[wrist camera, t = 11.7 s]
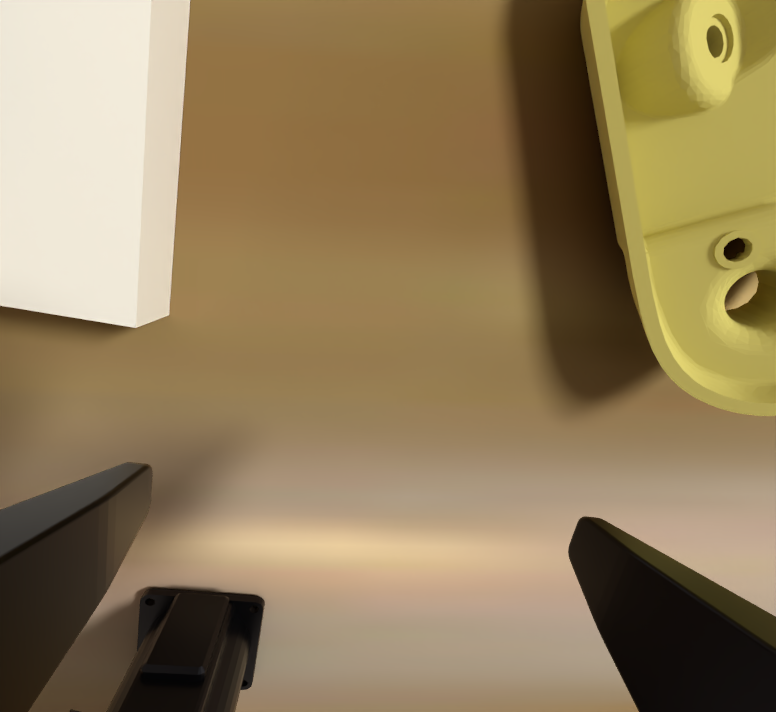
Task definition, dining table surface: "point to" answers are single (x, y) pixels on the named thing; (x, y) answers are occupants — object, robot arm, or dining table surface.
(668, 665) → the robot arm
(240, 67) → the dining table surface
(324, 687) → the dining table surface
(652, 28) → the plastic component
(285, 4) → the dining table surface
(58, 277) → the white square base plate
